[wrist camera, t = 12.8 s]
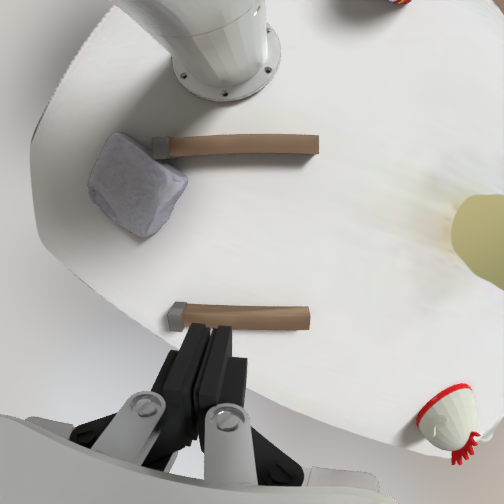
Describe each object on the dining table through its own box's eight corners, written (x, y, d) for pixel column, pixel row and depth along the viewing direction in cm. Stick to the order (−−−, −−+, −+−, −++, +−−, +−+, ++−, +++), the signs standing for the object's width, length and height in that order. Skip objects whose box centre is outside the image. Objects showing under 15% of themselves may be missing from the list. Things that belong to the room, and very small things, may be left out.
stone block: (163, 235, 37) (197, 173, 32) (144, 251, 33) (179, 182, 28) (100, 188, 36) (125, 125, 31) (78, 198, 31) (101, 129, 27)
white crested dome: (404, 428, 44) (423, 482, 30) (443, 381, 40) (475, 436, 26) (444, 427, 45) (465, 472, 31) (480, 384, 41) (510, 429, 26)
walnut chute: (163, 139, 31) (152, 138, 28) (315, 135, 30) (320, 132, 26) (177, 317, 38) (169, 330, 35) (306, 321, 37) (309, 336, 34)
